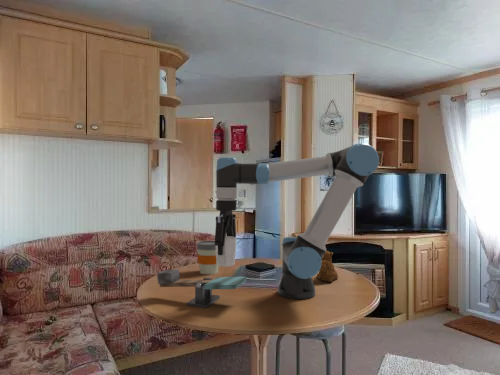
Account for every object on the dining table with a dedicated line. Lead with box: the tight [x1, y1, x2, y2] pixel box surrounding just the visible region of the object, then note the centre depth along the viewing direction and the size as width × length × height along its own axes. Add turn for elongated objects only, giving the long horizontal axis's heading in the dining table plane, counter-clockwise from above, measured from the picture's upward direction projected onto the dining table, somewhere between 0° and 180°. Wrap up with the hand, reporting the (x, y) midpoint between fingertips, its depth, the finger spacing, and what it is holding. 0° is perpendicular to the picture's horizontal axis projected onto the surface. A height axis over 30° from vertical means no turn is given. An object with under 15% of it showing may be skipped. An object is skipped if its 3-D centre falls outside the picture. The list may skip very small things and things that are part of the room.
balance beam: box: [156, 269, 248, 290], centre depth 135 cm, size 33×12×6 cm, turn 71°
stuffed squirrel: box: [316, 250, 339, 283], centre depth 168 cm, size 10×14×13 cm
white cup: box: [215, 235, 237, 268], centre depth 132 cm, size 8×8×10 cm
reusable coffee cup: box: [196, 240, 220, 275], centre depth 181 cm, size 13×13×15 cm
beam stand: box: [186, 276, 221, 309], centre depth 134 cm, size 8×12×8 cm, turn 161°
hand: (225, 261), depth 132 cm, fingers closed on white cup, 8 cm apart
